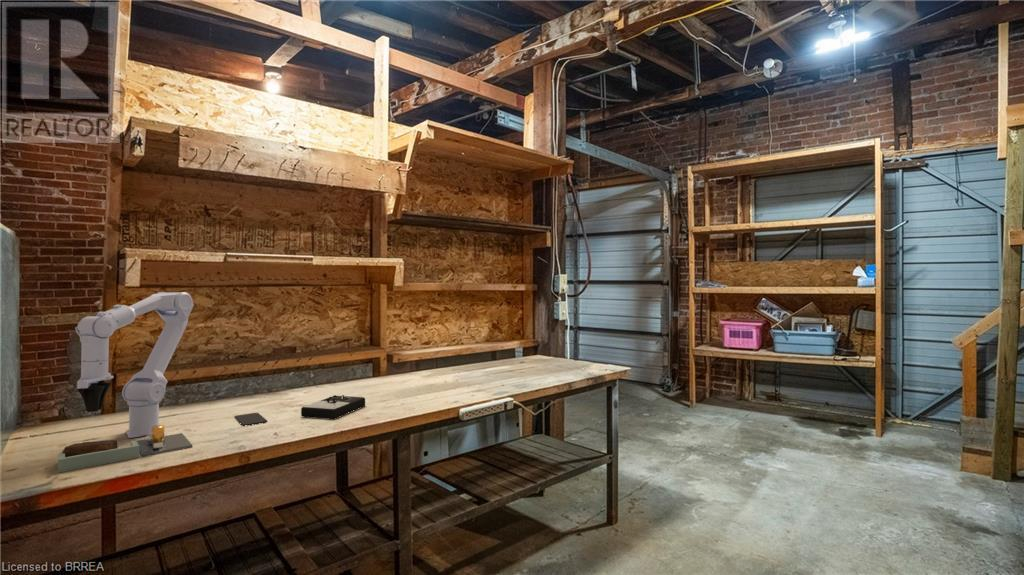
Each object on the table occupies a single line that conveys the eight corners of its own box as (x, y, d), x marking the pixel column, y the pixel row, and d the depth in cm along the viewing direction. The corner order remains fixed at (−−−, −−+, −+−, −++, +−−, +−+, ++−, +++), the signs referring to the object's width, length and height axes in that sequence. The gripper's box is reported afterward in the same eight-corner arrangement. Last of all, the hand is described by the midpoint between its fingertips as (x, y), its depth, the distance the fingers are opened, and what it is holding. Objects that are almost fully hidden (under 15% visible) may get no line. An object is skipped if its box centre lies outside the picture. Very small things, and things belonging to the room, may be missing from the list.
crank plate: (135, 443, 141) (135, 440, 141) (181, 435, 148) (181, 432, 148) (142, 456, 130) (142, 453, 130) (192, 447, 137) (192, 444, 137)
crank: (146, 440, 140) (146, 421, 140) (163, 437, 143) (163, 418, 143) (149, 449, 132) (149, 429, 132) (167, 446, 135) (167, 426, 135)
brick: (118, 456, 130) (118, 438, 130) (110, 462, 126) (110, 443, 126) (69, 460, 127) (69, 442, 127) (60, 466, 123) (59, 447, 123)
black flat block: (365, 407, 184) (365, 393, 184) (334, 420, 165) (334, 405, 165) (334, 405, 187) (334, 391, 187) (300, 418, 169) (300, 403, 169)
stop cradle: (57, 466, 123) (57, 453, 123) (136, 451, 133) (136, 440, 133) (57, 472, 119) (57, 459, 119) (139, 457, 129) (139, 445, 129)
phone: (257, 412, 174) (268, 420, 162) (257, 414, 174) (268, 423, 162) (233, 415, 169) (242, 425, 157) (233, 418, 169) (242, 427, 157)
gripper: (100, 363, 130) (100, 415, 130) (123, 356, 144) (122, 404, 144) (67, 364, 128) (66, 417, 128) (93, 357, 142) (93, 405, 142)
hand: (94, 410), depth 136 cm, fingers closed
